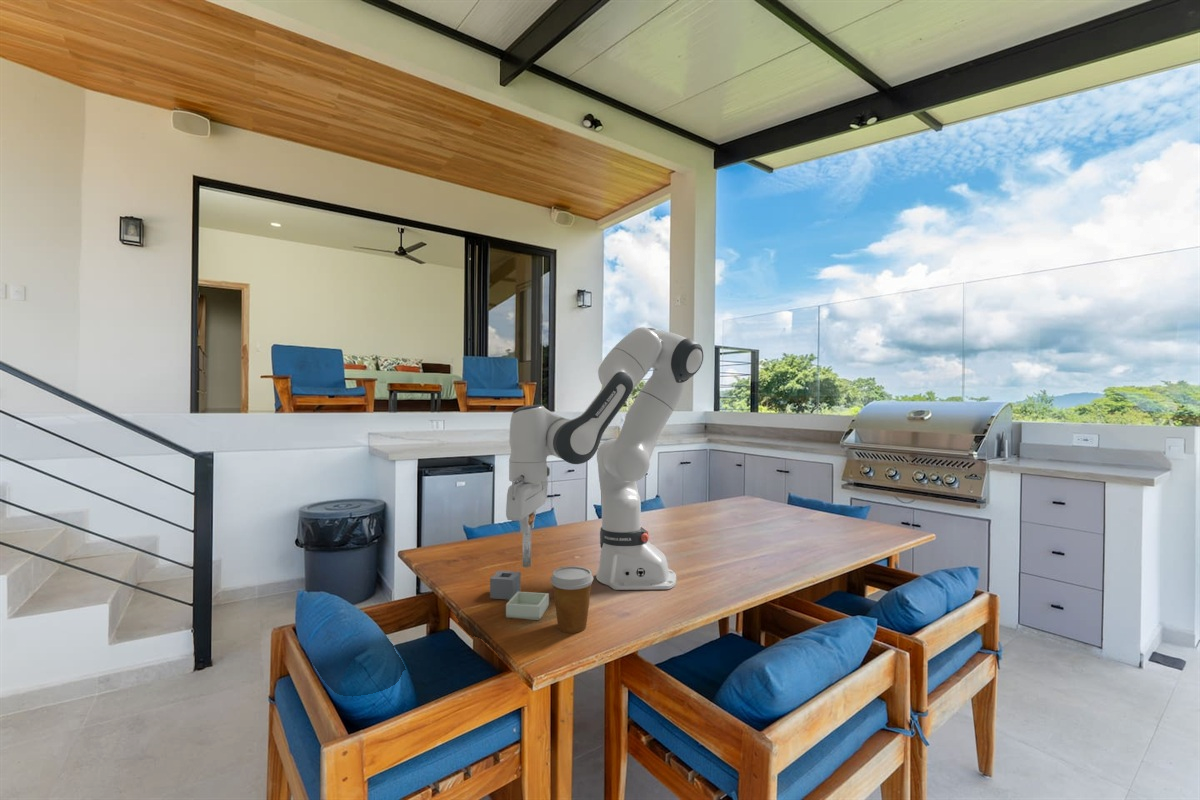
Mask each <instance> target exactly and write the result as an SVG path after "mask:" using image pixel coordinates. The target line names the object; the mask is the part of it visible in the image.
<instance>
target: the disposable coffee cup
mask: <svg viewBox="0 0 1200 800" xmlns="http://www.w3.org/2000/svg"><path fill="white" fill-rule="evenodd" d="M594 579H595V578H594V576H593V574H592V570H590V569H589V568H587V567H583V566H576V565H575V566H574V565H571V566H563V567H559V568H556V569H555V570H553V572H552V576H551V577H550V582H551V584H552V587H553V588H552V589H553V594H554V596H553V597H554V605H555V614H556V621H557V628H558V629H559V631H560V632H563V633H566V634H567V633H568V634H571V633H572V634H576V633H580V632H583V631H584V630H585V629H587V623H588V616H589V615H588V614H589V605H590V597H591V591H592V590H591V589H592V583H593V581H594ZM582 630H583V631H582Z"/></svg>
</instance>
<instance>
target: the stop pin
mask: <svg viewBox="0 0 1200 800" xmlns="http://www.w3.org/2000/svg"><path fill="white" fill-rule="evenodd" d="M533 522H534V523H535V520H534V515H533V514H530V515H529V519H528V523H529V525H530V531H529V532H528V533H527V534H522V567H523V568H530V567H531V566H532V530H531V523H533Z"/></svg>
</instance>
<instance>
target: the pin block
mask: <svg viewBox="0 0 1200 800" xmlns="http://www.w3.org/2000/svg"><path fill="white" fill-rule="evenodd" d="M521 574H522V573H521V571H515V570H514V571H511V570H498V571H496V573H494V575H492V576H491V577H490V579H489V598H490V599H496V600H497V599H498V600H508V601H509V600H510V599H511V598H512V597H513V596H514V595H515V594H516V593H517V591H519V592H522V590H521V585H522V584H521V582H522V581H521V580H522V579H521Z"/></svg>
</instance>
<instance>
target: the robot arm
mask: <svg viewBox="0 0 1200 800" xmlns="http://www.w3.org/2000/svg"><path fill="white" fill-rule="evenodd" d="M703 362H704V350H703V347H702V346H701V344H700V343H698V342H697V341H695V340H693V339H692V338H690V337H685V336H682V335H680V334H677V333H674V332H671V331H665V330H660V329H656V328H654V327H642V326H641V327H637V328H635V329H633V330H631V331H630V332H629V333H628V334H627V335H626V336H624V337H623V338H622V339H621V340H619V342H618V343H617V344H616V345H615V346H614V347H612V349H611V350H610V351H609V353H608V354H606V356H605V357H604V358H603V360H602V361H601V364H600V365H599V367H598V370H597V374H598V380H599V381H600V384H601V388H600V391H599V392H598V393H597V395H596V396H595V397H594V399H593V400H592V401H591V403H589V405H588V406H587V408H586V409H585V411H583V412H582V414H581V415H579V416H577V417H575V418H572V419H569V418H565V417H563V416H560V415H558V414H556V413H554V412H552V411H550V410H549V409H547V408H546V407H545V406H544V405H543V404H532V405H530V404H529V405H524V406H520V407H518V408H516V409H514V411H513V412H512V414H511V417H510V423H509V439H508V441H509V447H510V454H509V459H508V460H509V461H508V481H510V482H512V484H511V485H510V486H509V487H508V489H507V493H506V503H505V505H506V506H505V517H506V520H507V521H515V522H516V521H518V522H519V526H520V533H521V534H522V535H523V534H527V533H528V532H529V531H530V525H529V523H528V519H529V515H530V514H533V515H534V522H533V523H531V531H532V530H533V529H534V527H535V520H536V515H537V510H538V509H540V508H541V507H542V506H544V505H545V504H546V501H547V497H548V488H549V487H548V486H549V485H548V484H549V479H548V477H550V475H551V468H550V467H549V466H548V465H547V459H548V457H549V456H554V457H557V458H559V459H561V460H563V461H564V462H566V463H568V464H571V465H580V464H584V463H586V462H588V461H590V460H591V459H592V458H593V457H594V456H595V455H596V462H597V470H598V481H599V488H600V495H601V527H600V530H599V544H600V557H599V564H598V569H597V572H596V576H595V578H596V579H597V581H598V582H600V583H601V584H604V585H605V586H608V587H610V588H612V589H613V590H616V591H617V590H618V591H620V590H621V591H623V590H625V591H628V590H629V591H631V590H635V591H637V590H646V591H647V590H670V589H672V588H674V587H675V585H676V584H677V574H676V573H675V571H674V570H672V569H671V568H669V564H668V563H669V562H668V559H667V556H666V554H664V553H663V552H662V551H661V550H660V549H658V548H657V547H656V546H655V545H653V544H652V543H650V541H649V538H650V536H649V531H648V529H647V528H643V526H642V509H641V507H642V503H641V502H642V501H641V500H642V499H641V496H640V493H639V490H638V485H637V483H638V482H637V481H639V480H640V481H641V480H642V479H643V478H644V477H645V476H646V475H647V473H648V471H649V468H650V460H651V457H652V456H653V452H654V449H655V447H656V444H657V440H658V439H659V437H660V434H661V433H662V431H663V429H664V427H665V425H666V424H667V422H668V421H669V418H670V417H671V416H672V414H673V412H674V410H675V409H676V407H677V406H678V405H677V404H678V403H679V401H680V398H681V397H682V394H683V392H684V389H685V386H686V382H687V381H689V379H691V378H692V377H694V375H696V374H697V373H698V371H699V370H700V368H701V367H702V364H703ZM651 369H652V374H651V376H650V377H649V378H648V380H647V381H646V382H645V384H644V385H643V386H642V388H641V389H640V390H639V392H638V394H637V396H636V397H635V399H634V401H633V402H632V403H631V406H630V407H629V408H628V410H627V412H626V413H625V416H624V421H623V424H622V427H621V430H620V432H619V434H618V436H617V437H616V438H615V437H614V438H611V439H610V438H609V439H608V440H606V441H604V442H603V443H602V444H600V443H601V440H602V438H603V434H604V433H605V431H606V429H607V428H608V426H609V425H610V424H611V422H612V421H613V420H614V418H615V416H616V415H617V414H618V413H619V411H620V410H621V409H622V407H623V406H624V404H625V403H626V402H627V400H628V399H629V397H630V395H631V393H632V392H633V391H634V390H635V389H636V387H637V386H638V385H639V384H640V382H641V381H643V379H644V378H645V376H646V375H647V374H648V372H650V370H651Z"/></svg>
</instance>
